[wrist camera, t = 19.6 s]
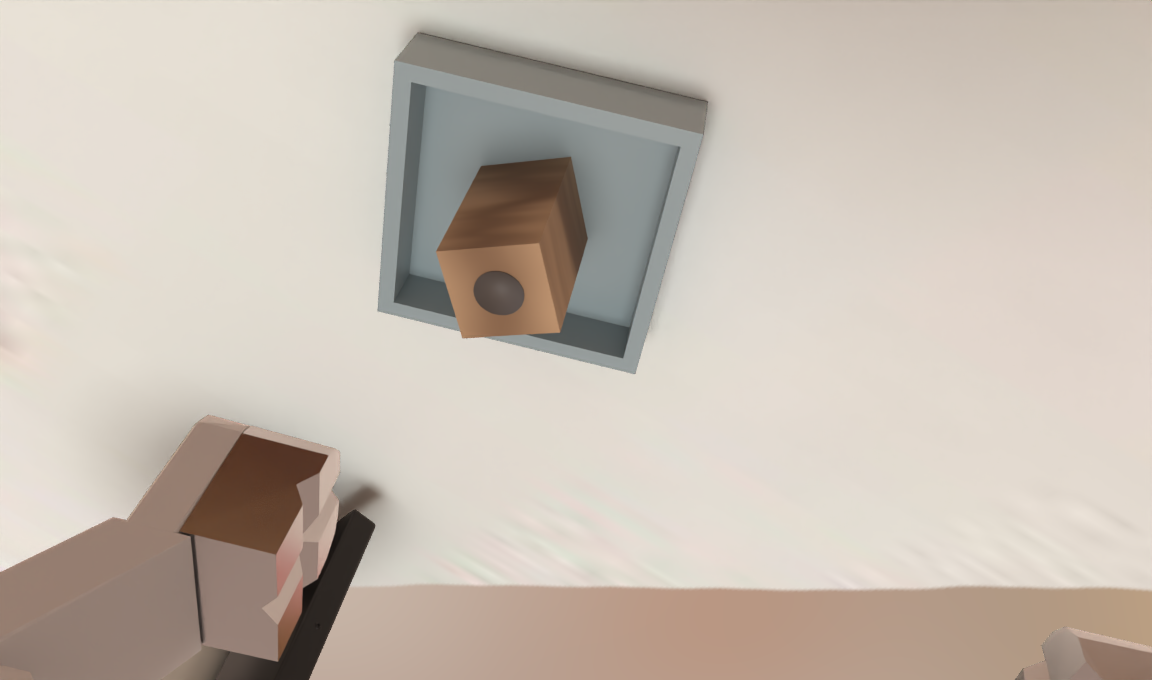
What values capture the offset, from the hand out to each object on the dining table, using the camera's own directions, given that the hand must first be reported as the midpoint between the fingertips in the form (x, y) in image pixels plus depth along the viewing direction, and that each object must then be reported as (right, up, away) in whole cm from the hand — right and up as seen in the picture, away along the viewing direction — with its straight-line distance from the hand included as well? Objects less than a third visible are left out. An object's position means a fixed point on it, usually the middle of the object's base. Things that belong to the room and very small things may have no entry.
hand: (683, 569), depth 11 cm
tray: (-3, +10, +38) cm, 39 cm away
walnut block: (-3, +9, +37) cm, 38 cm away
